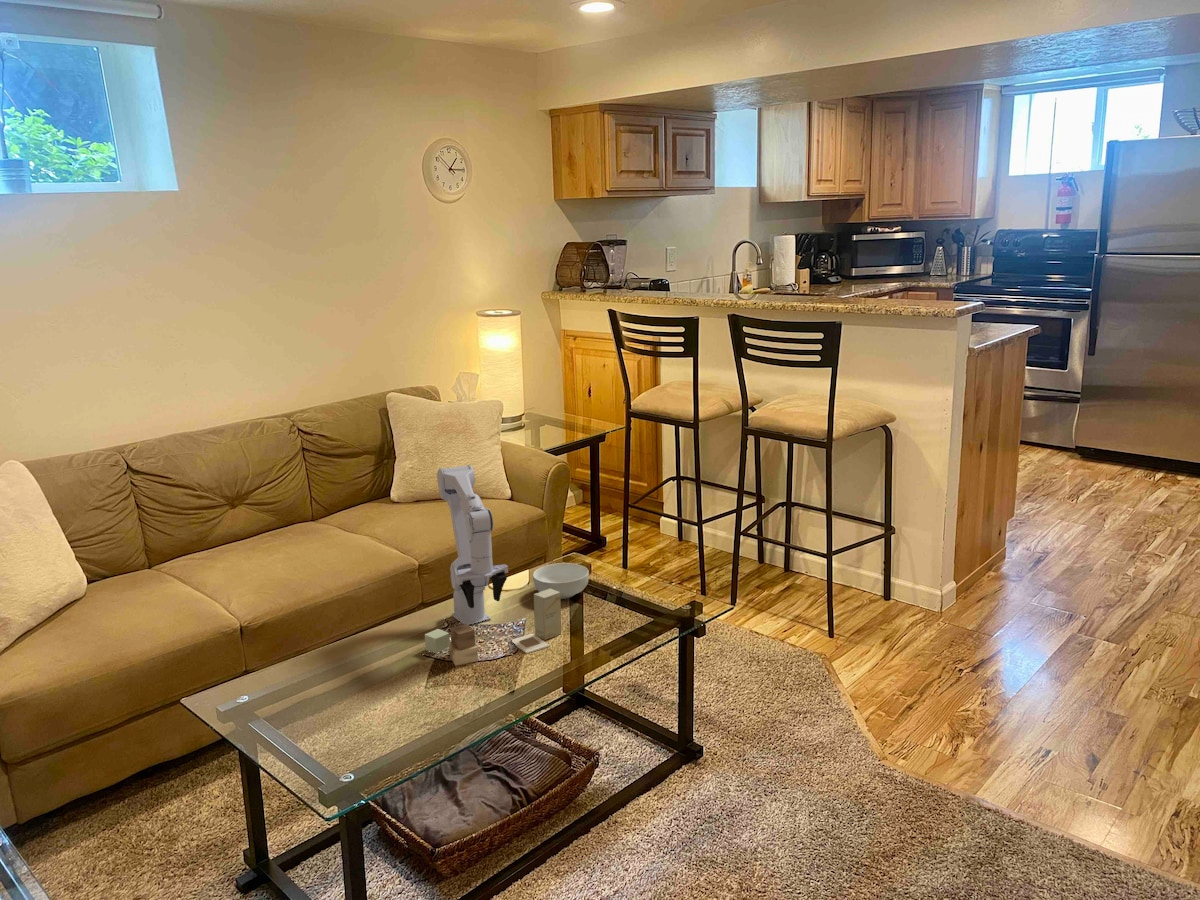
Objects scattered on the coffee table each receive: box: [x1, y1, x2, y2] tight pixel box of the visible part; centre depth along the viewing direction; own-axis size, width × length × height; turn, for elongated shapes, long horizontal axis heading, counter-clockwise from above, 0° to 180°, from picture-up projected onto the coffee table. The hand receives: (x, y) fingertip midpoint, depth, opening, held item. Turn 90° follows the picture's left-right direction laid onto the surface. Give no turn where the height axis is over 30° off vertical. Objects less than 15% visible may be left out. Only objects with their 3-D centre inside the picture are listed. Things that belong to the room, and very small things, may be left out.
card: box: [511, 633, 551, 655], centre depth 236 cm, size 9×7×1 cm
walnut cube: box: [449, 624, 476, 651], centre depth 227 cm, size 4×4×4 cm
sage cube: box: [424, 628, 451, 655], centre depth 233 cm, size 4×4×4 cm
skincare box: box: [533, 588, 562, 641], centre depth 240 cm, size 6×4×12 cm
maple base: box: [448, 641, 479, 667], centre depth 228 cm, size 6×6×4 cm
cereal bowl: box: [532, 562, 590, 600], centre depth 268 cm, size 17×17×7 cm
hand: (483, 603), depth 237 cm, fingers open, 7 cm apart
